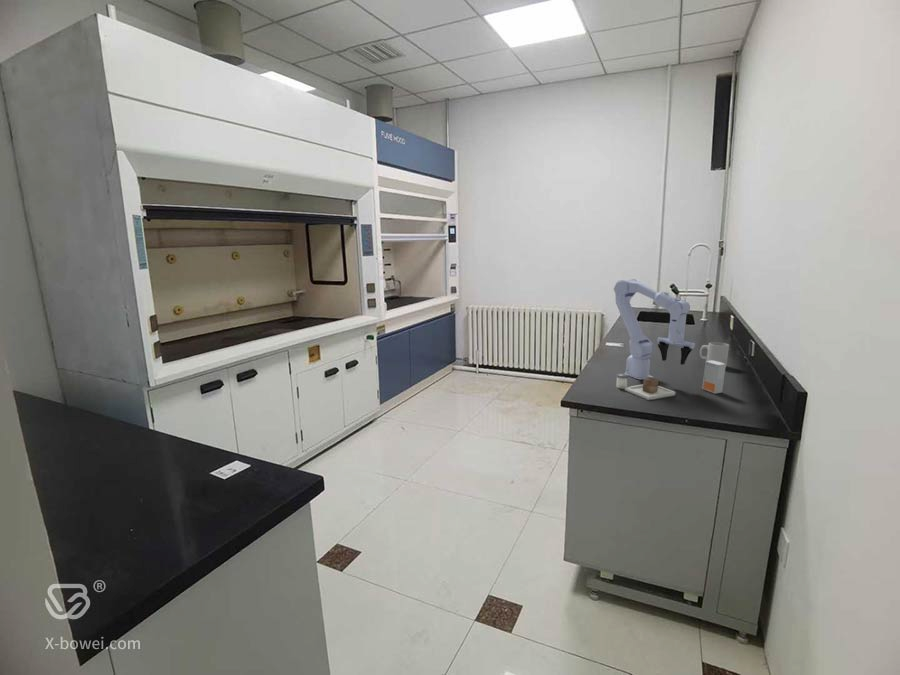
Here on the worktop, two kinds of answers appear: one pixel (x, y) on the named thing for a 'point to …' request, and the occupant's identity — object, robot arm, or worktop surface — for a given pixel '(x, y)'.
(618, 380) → the sample jar
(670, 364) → the worktop surface
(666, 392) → the tray
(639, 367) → the robot arm
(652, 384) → the walnut block
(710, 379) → the skincare box
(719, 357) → the mug
